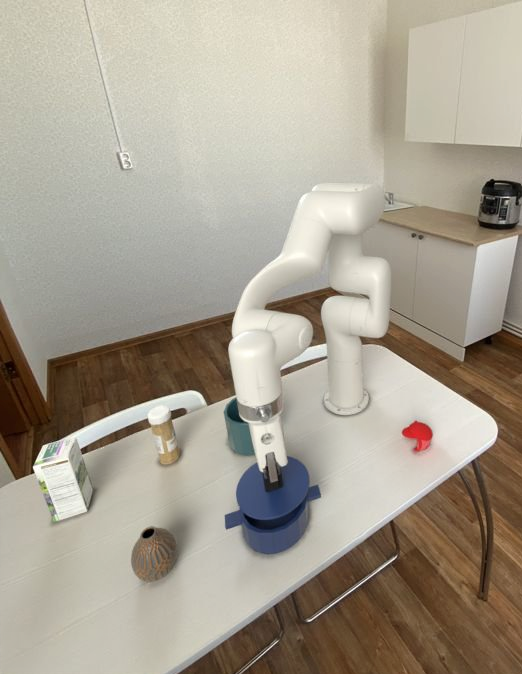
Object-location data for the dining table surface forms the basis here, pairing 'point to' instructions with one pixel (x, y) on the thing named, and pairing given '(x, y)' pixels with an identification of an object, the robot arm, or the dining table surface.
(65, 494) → the syrup box
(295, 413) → the dining table surface
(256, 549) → the pan
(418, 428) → the red rounded piece
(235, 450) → the pot
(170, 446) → the spice jar
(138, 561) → the vase
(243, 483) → the lid
